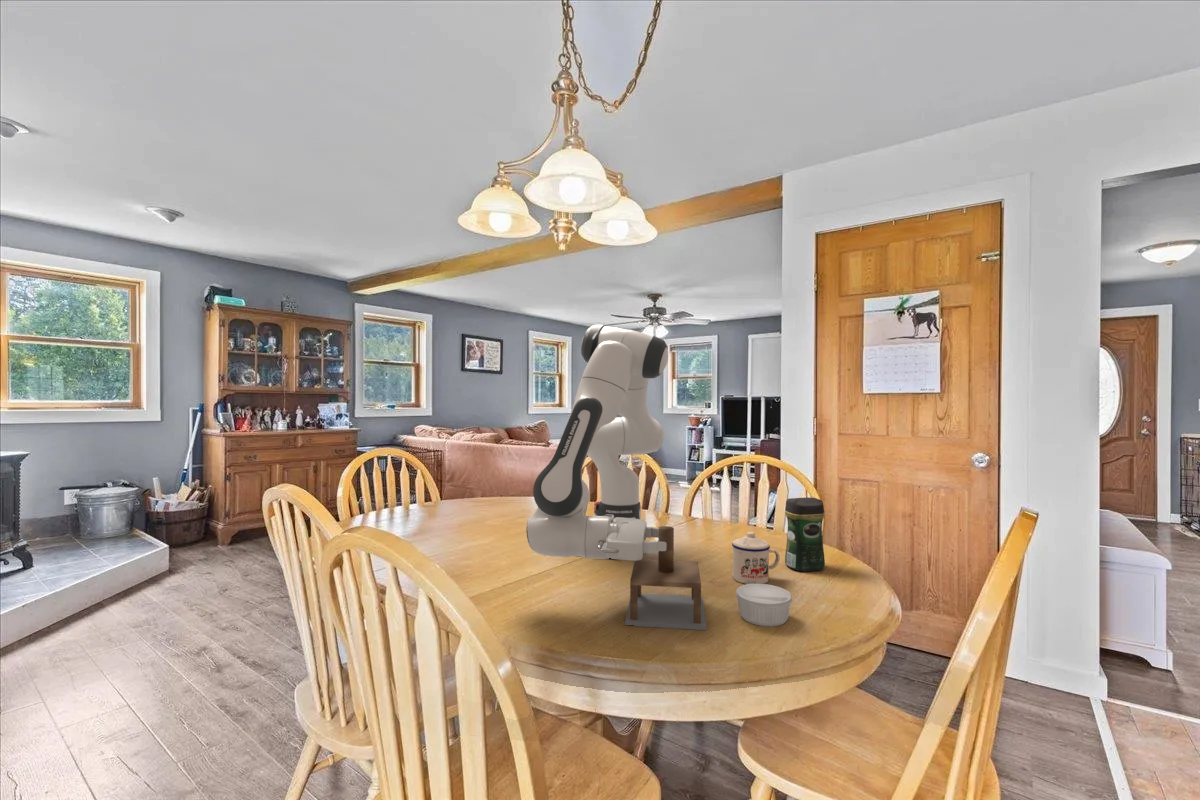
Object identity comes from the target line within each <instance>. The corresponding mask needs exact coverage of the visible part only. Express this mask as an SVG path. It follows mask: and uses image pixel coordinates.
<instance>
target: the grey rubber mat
mask: <svg viewBox="0 0 1200 800" xmlns="http://www.w3.org/2000/svg"><path fill="white" fill-rule="evenodd" d="M693 615H694V600H692V595H683V594H681V595H680V594H664V593H662V594H661V593H659V594H658V593H645V592H643V593H642V592H641V597H638V618H637V620H630V600H629V601H628V607H627V611H626V617H625V621H624V626H625V625H634V626H633V627H641V628H642V627H643V628H660V629H661V628H663V629H678V630H692V631H693V630H696V631H707V630H708V626H707V619H706V618H707V617H706V610H705V605H704V597H703V596H702V595H701V624H699V623H694V621H693Z"/></svg>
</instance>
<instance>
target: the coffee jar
mask: <svg viewBox="0 0 1200 800" xmlns="http://www.w3.org/2000/svg"><path fill="white" fill-rule="evenodd" d="M784 512H785V516H786V519H787V534H786V535H787V537H786V545H785V557H784V562H785V565H786V567H788V568H789V569H790V570H795V571H798V572H814V570H815V571H822V570H824V568H825V566H826V563H825V552H824V549H825V548H824V542H823V521H824V517H825V507H824V503H823V500H822V499H819V498H816V497H794V498H787V499H786V501H785V509H784Z"/></svg>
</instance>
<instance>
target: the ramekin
mask: <svg viewBox="0 0 1200 800" xmlns="http://www.w3.org/2000/svg"><path fill="white" fill-rule="evenodd" d="M735 596H736V598H737V605H738V613H739V614H740V616H741V618H742V619H743V620H744V621H746V622H747V623H750V624H752V625H757V626H761V627H778V626H781V625H783V624H785V623H786V622H787V620H788V619H789V615H790V609H791V603H792V600H793V596H792V594H791V592H790V591H789V590H787V589H785V588H783V587H780V586H778V585H773V584H767V583H764V584H743V585H740V586H738V587H737V588H736V590H735Z"/></svg>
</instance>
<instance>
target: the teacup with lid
mask: <svg viewBox="0 0 1200 800" xmlns="http://www.w3.org/2000/svg"><path fill="white" fill-rule="evenodd" d="M731 546H732V578H733V579H734V580H735V581H736V582H737V583H738V582H739V583H740V584H743V585H746V584H767V583H768V582H769V579H770V578H769V575H770V574H769V572H770V570H773V569H776V567H778V565H779V563H780V558H781V557H780V555H781V554H780V553H779V551H778V550H776V549H774V548H771V545H770V544H769V542H767V540H764V539H761V538H760V537H759V536H756V533H755V532H754V531H747V532H746V535H743V536H742V537H740V538H736V539H734V540H733V541H732V543H731ZM770 553H774V554H775V560H774V562H773V563H772V564H770Z"/></svg>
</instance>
